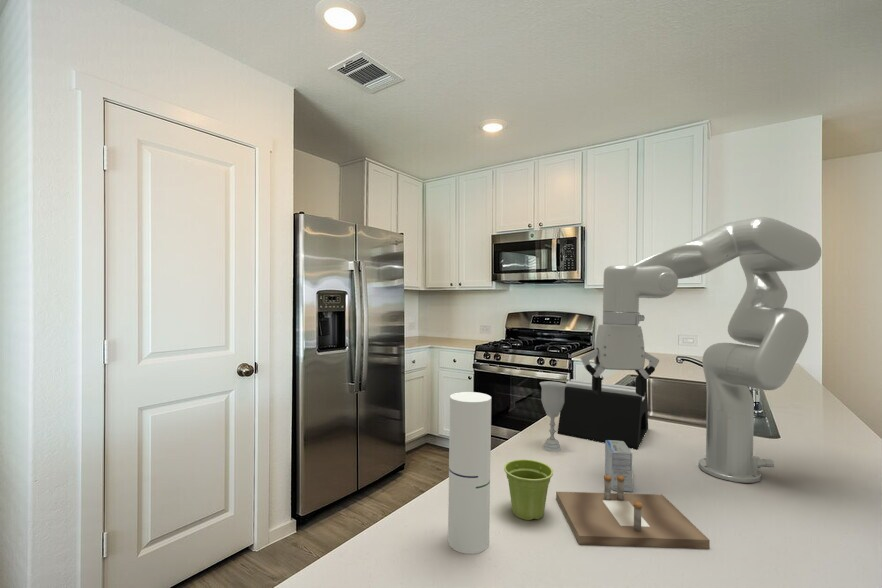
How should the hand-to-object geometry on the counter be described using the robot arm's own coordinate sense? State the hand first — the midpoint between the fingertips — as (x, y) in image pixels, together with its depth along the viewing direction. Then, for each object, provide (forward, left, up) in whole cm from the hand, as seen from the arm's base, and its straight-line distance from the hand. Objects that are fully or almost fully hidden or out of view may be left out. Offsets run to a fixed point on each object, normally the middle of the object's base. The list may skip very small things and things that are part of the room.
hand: (618, 394), depth 95 cm
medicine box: (0, 0, -21) cm, 21 cm away
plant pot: (+23, +14, -21) cm, 34 cm away
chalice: (+10, -21, -21) cm, 31 cm away
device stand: (-10, -37, -21) cm, 44 cm away
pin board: (+5, +16, -20) cm, 26 cm away
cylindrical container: (+35, +24, -21) cm, 47 cm away
